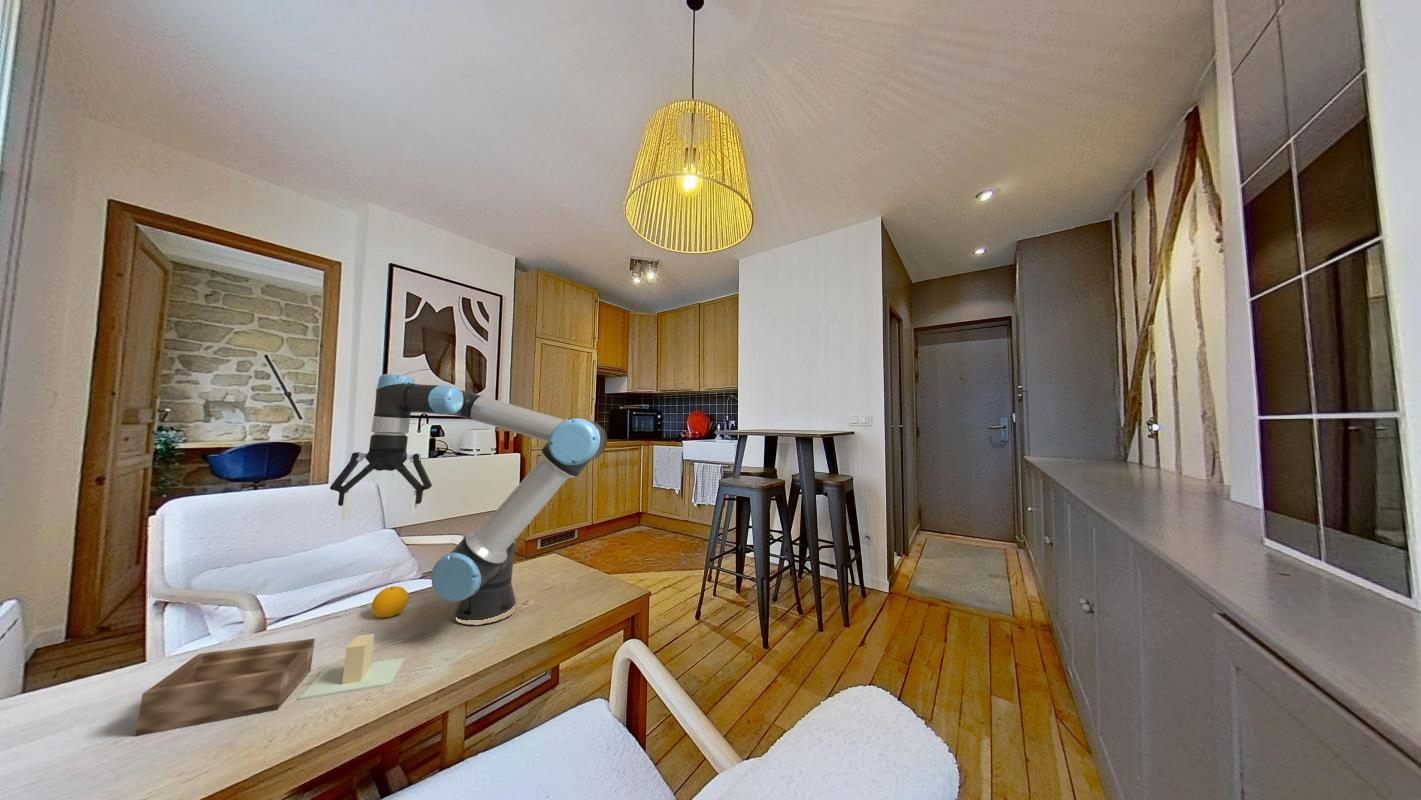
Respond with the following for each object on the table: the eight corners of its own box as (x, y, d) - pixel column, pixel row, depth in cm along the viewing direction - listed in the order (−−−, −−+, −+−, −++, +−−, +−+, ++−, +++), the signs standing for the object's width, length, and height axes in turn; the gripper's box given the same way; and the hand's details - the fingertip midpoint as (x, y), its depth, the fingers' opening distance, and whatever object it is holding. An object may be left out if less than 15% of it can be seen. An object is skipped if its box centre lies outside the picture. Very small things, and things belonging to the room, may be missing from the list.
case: (310, 670, 84) (314, 638, 85) (277, 709, 72) (282, 671, 73) (192, 689, 77) (198, 653, 77) (135, 736, 65) (142, 693, 66)
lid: (404, 661, 90) (408, 625, 90) (389, 687, 81) (394, 646, 81) (323, 673, 84) (328, 634, 85) (298, 702, 75) (304, 658, 76)
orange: (410, 607, 115) (413, 580, 116) (402, 619, 108) (405, 590, 109) (376, 610, 112) (379, 583, 113) (365, 623, 105) (369, 593, 106)
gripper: (449, 436, 112) (440, 513, 110) (333, 431, 101) (321, 517, 99) (444, 436, 105) (435, 518, 103) (320, 432, 94) (307, 523, 92)
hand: (379, 517), depth 101 cm, fingers open, 13 cm apart
